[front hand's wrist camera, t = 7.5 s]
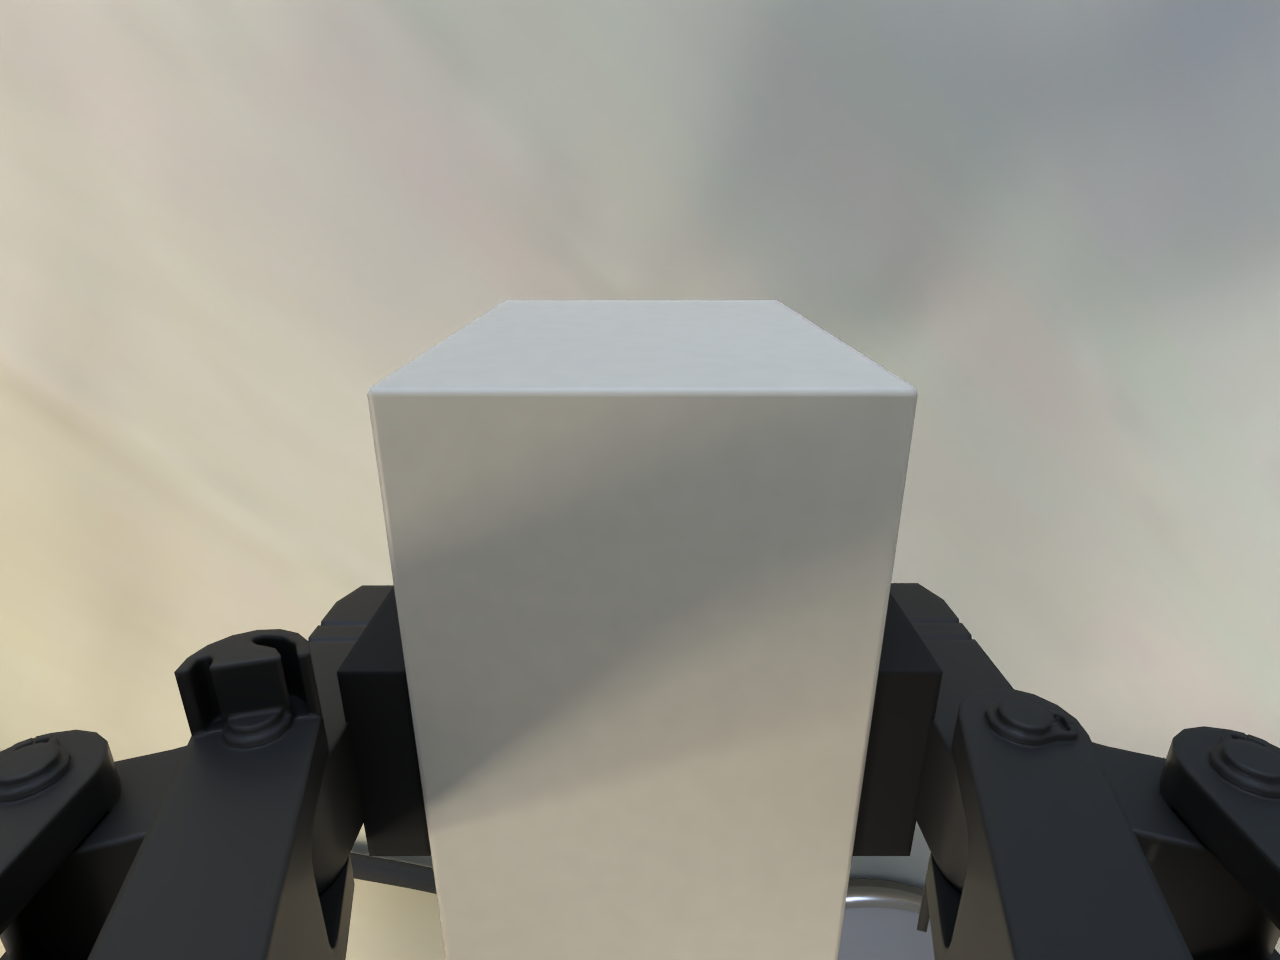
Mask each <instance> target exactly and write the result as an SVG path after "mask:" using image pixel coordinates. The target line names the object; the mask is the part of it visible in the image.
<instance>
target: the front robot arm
mask: <svg viewBox="0 0 1280 960" xmlns="http://www.w3.org/2000/svg"><path fill="white" fill-rule="evenodd" d="M174 673H175V677H176V680H177V684H178V687H179V691H180V695H181V698H182V702H183V705H184V709H185V713H186V716H187V720H188V724H189V727H190V731H191V734H192V736H191V739H190V741H189V743H188V745H187V746H184V747H180V748H177V749H173V750H168V751H164V752H159V753H154V754H150V755H145V756H140V757H135V758H131V759H126V760H121V761H116V762H114V760H113V757H112V754H111V751H110V748H109V745H108V742H107V741H106V740H105V739H104V738H103V737H101V736H100V735H99V734H98V733H96V732H89V731H82V730H71V731H63V732H56V733H49V734H45V735H41V736H37V737H36V738H33V739H32V738H30V739H27V740H25V741H22V742H19V743H17V744H15V745H13V746H12V747H10V748H8V749H6V750H3V751H1V752H0V939H1V941H2V943H3V945H4V948H5V950H6V952H5V953H4V954H3V956H2V957H1V958H0V960H345V959H346V951H347V942H348V934H349V926H350V917H351V909H352V901H353V893H354V878H355V879H361V880H366V881H372V882H378V883H383V884H389V885H395V886H400V887H405V888H411V889H416V890H421V891H425V892H430V893H435V894H437V892H436V885H435V878H434V870H433V868H430V867H425V866H420V865H415V864H410V863H404V862H399V861H394V860H388V859H382V858H377V857H371V856H431V849H430V842H429V834H428V827H427V820H426V813H425V806H424V798H423V791H422V784H421V777H420V770H419V763H418V755H417V748H416V741H415V734H414V727H413V719H412V712H411V705H410V698H409V691H408V683H407V676H406V669H405V662H404V655H403V647H402V640H401V633H400V626H399V619H398V611H397V604H396V597H395V590H394V586H361V587H359V588H358V589H356V590H355V591H353V592H351V593H350V594H348V595H347V596H345V597H344V598H342V599H341V600H339V601H337V602H336V603H335V605H334V606H333V607H332V608H331V610H330V611H329V612H328V614H327V615H326V616H325V617H324V619H323V620H322V621H321V626H317V628H316V629H315V630H314V632H313V633H312V634H311V635H310V637H309V640H308V641H307V640H306V639H305V638H303V637H302V636H301V635H300V634H298V633H295V632H291V631H286V630H281V629H272V630H255V631H251V632H246V633H242V634H237V635H232V636H230V637H227V638H225V639H222V640H220V641H217V642H215V643H212V644H210V645H207V646H206V647H204V648H202V649H201V650H199V651H198V652H196V653H195V654H193V655H191V656H190V657H188V658H187V659H186V660H185V661H184V662H183V663H182V664H181V666H180V667H179V668H178V669H177V670H176V671H175V672H174ZM916 820H917V822H918V825H919V827H920V829H921V831H922V833H923V836H924V838H925V840H926V842H927V844H928V846H929V849H930V851H931V854H930V859H929V864H928V870H927V875H926V880H925V885H924V889H922V888H918V887H915V886H912V885H908V884H904V883H899V882H894V881H887V880H878V879H849V882H848V890H847V897H846V904H845V911H844V918H843V925H842V932H841V939H840V946H839V953H838V960H1280V954H1279V953H1278V952H1277V951H1276V949H1275V946H1276V944H1277V941H1278V939H1279V937H1280V748H1278V747H1276V746H1274V745H1272V744H1270V743H1268V742H1267V741H1265V740H1263V739H1260V738H1257V737H1254V736H1252V735H1249V734H1248V735H1245V733H1241V732H1237V731H1233V730H1227V729H1220V728H1212V727H1196V728H1189V729H1184V730H1182V731H1181V732H1180V733H1179V734H1177V735H1176V736H1175V737H1174V738H1173V740H1172V743H1171V746H1170V749H1169V752H1168V755H1167V758H1166V759H1165V758H1160V757H1155V756H1150V755H1146V754H1141V753H1136V752H1131V751H1126V750H1122V749H1117V748H1112V747H1108V746H1104V745H1100V744H1097V743H1093V742H1091V739H1090V737H1089V735H1088V734H1087V732H1086V731H1085V730H1084V728H1083V727H1082V726H1081V725H1080V723H1079V722H1078V721H1077V719H1076V718H1074V717H1073V716H1071V715H1070V714H1069V713H1067V712H1066V711H1065V710H1063V709H1062V708H1061V707H1059V706H1058V705H1056V704H1054V703H1052V702H1049V701H1047V700H1045V699H1043V698H1041V697H1038V696H1036V695H1034V694H1030V693H1026V692H1022V691H1018V690H1014V689H1013V688H1012V686H1011V685H1010V684H1009V683H1008V681H1007V680H1006V679H1005V677H1004V676H1003V675H1002V674H1001V672H1000V671H999V670H998V669H997V667H996V666H995V665H994V663H993V662H992V661H991V660H990V658H989V657H988V656H987V654H986V653H985V652H984V651H983V649H982V648H981V647H980V646H979V644H978V643H977V642H976V640H972V638H971V634H970V633H969V632H968V630H967V629H966V628H965V626H964V625H963V624H962V623H959V619H958V618H957V616H956V615H955V614H954V612H953V611H952V610H951V609H950V607H949V606H948V605H947V604H946V602H945V601H944V600H943V599H941V598H940V597H938V596H937V595H935V594H934V593H932V592H931V591H929V590H927V589H926V588H924V587H923V586H921V585H920V584H918V583H891V586H890V593H889V600H888V607H887V614H886V621H885V628H884V635H883V642H882V650H881V657H880V664H879V671H878V678H877V685H876V692H875V699H874V706H873V713H872V720H871V727H870V734H869V741H868V748H867V755H866V762H865V770H864V777H863V784H862V791H861V798H860V805H859V812H858V819H857V826H856V833H855V840H854V847H853V854H852V856H910V852H911V847H912V841H913V835H914V830H915V824H916ZM363 823H364V827H365V833H366V838H367V844H368V849H369V855H370V856H365V855H360V854H354V853H350V851H351V849H352V847H353V845H354V843H355V840H356V838H357V836H358V834H359V831H360V829H361V827H362V825H363Z"/></svg>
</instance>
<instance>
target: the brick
mask: <svg viewBox="0 0 1280 960" xmlns="http://www.w3.org/2000/svg"><path fill="white" fill-rule="evenodd" d="M367 396H368V403H369V410H370V417H371V424H372V431H373V439H374V446H375V453H376V460H377V467H378V475H379V482H380V489H381V496H382V503H383V511H384V518H385V525H386V532H387V539H388V547H389V554H390V561H391V568H392V575H393V583H394V590H395V597H396V604H397V611H398V619H399V626H400V633H401V640H402V647H403V655H404V662H405V669H406V676H407V683H408V691H409V698H410V705H411V712H412V719H413V727H414V734H415V741H416V748H417V755H418V763H419V770H420V777H421V784H422V791H423V798H424V806H425V813H426V820H427V827H428V834H429V842H430V849H431V856H432V863H433V870H434V878H435V885H436V892H437V899H438V906H439V914H440V921H441V928H442V935H443V942H444V950H445V957H446V960H838V953H839V946H840V939H841V932H842V925H843V918H844V911H845V904H846V897H847V890H848V882H849V875H850V868H851V861H852V854H853V847H854V840H855V833H856V826H857V819H858V812H859V805H860V798H861V791H862V784H863V777H864V770H865V762H866V755H867V748H868V741H869V734H870V727H871V720H872V713H873V706H874V699H875V692H876V685H877V678H878V671H879V664H880V657H881V650H882V642H883V635H884V628H885V621H886V614H887V607H888V600H889V593H890V586H891V579H892V572H893V565H894V558H895V551H896V544H897V537H898V529H899V522H900V515H901V508H902V501H903V494H904V487H905V480H906V473H907V466H908V459H909V452H910V445H911V438H912V431H913V424H914V417H915V409H916V402H917V391H916V388H915V387H913V386H911V385H910V384H908V383H907V382H905V381H904V380H902V379H900V378H899V377H897V376H896V375H894V374H893V373H891V372H889V371H888V370H886V369H885V368H883V367H881V366H880V365H878V364H877V363H875V362H874V361H872V360H870V359H869V358H867V357H866V356H864V355H863V354H861V353H859V352H858V351H856V350H855V349H853V348H852V347H850V346H848V345H847V344H845V343H844V342H842V341H840V340H839V339H837V338H836V337H834V336H833V335H831V334H829V333H828V332H826V331H825V330H823V329H822V328H820V327H818V326H817V325H815V324H814V323H812V322H810V321H809V320H807V319H806V318H804V317H803V316H801V315H799V314H798V313H796V312H795V311H793V310H792V309H790V308H788V307H787V306H785V305H784V304H782V303H781V302H779V301H777V300H506V301H504V302H502V303H500V304H499V305H497V306H496V307H494V308H493V309H491V310H490V311H488V312H487V313H485V314H483V315H482V316H480V317H479V318H477V319H476V320H474V321H473V322H471V323H469V324H468V325H466V326H465V327H463V328H462V329H460V330H459V331H457V332H456V333H454V334H452V335H451V336H449V337H448V338H446V339H445V340H443V341H442V342H440V343H438V344H437V345H435V346H434V347H432V348H431V349H429V350H428V351H426V352H425V353H423V354H421V355H420V356H418V357H417V358H415V359H414V360H412V361H411V362H409V363H407V364H406V365H404V366H403V367H401V368H400V369H398V370H397V371H395V372H394V373H392V374H390V375H389V376H387V377H386V378H384V379H383V380H381V381H380V382H378V383H377V384H375V385H373V386H372V387H370V388H369V391H368V395H367Z"/></svg>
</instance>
